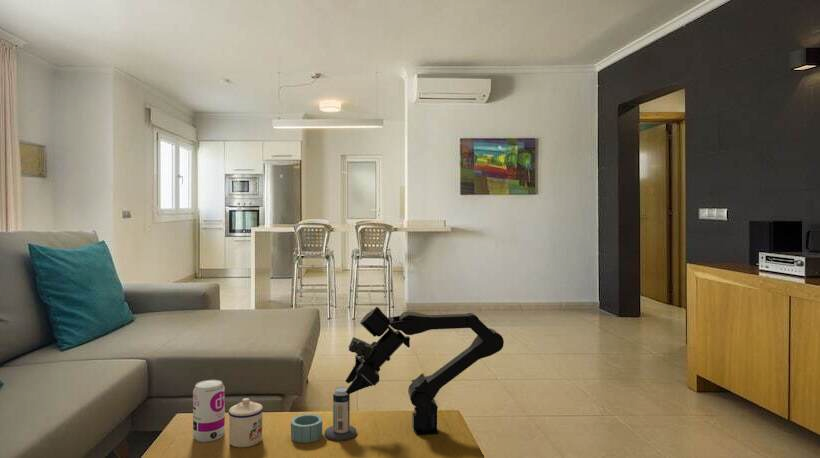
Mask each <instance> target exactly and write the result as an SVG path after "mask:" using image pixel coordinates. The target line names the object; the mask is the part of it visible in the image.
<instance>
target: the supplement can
mask: <svg viewBox="0 0 820 458" xmlns="http://www.w3.org/2000/svg"><path fill="white" fill-rule="evenodd" d="M225 389H226V388H225V385H224V383H223V381H222V380H219V379H205V380H202V381H199V382H197V383H196V384H195V386H194V388H193V390H192V408H193V409H192V426H193V427H192V430H193V431H192V437H193V439H195V440H196V441H197V442H199V443H209V442H214V441H217V440H219V439H221V438H222V437H223V435H224V434H225V431H226V427H225V424H226V422H225V421H226V417H225V416H226V415H225V414H226V413H225V411H226V410H225V408H226V407H225V406H226V405H225V401H226V398H225V396H226V395H225V391H226V390H225Z"/></svg>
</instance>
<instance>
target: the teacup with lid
mask: <svg viewBox="0 0 820 458" xmlns="http://www.w3.org/2000/svg"><path fill="white" fill-rule="evenodd" d="M263 411H264V407H263V405H262V404H261V403H259V402H254V401H251V400H250V398H248V397H246V398H243V399H242V401H241V402H238V403H237V404H235V405H233V406H231V407H230V408H229V409H228V415H229V418H228V419H229V420H228V421H229V422H228V423H229V424H228V425H229V430H228V431H229V432H228V433H229V435H228V437H229V438H228V439H229V441H228V442H229V444H230V445H231V446H232V447H235V448H249V447H252V446H255V445H258V444H259V443H260V442H261V441H262V440H263Z"/></svg>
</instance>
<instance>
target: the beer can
mask: <svg viewBox="0 0 820 458" xmlns="http://www.w3.org/2000/svg"><path fill="white" fill-rule="evenodd" d="M347 389H348V387H344V386H340V387H336V388H334V390H333V392H332V399H333V400H332V406H333V407H332V416H333V417H332V426H333V431H334V432H336V433H338V434H343V433H346V432H348V431H349V430H350V426H351V424H350V420H351V419H350V413H351V412H350V411H351V409H350V406H351V405H350V402H351V401H350V399H351V398H350V395H351V394H347V393H346V390H347Z"/></svg>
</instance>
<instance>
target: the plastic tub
mask: <svg viewBox="0 0 820 458" xmlns="http://www.w3.org/2000/svg"><path fill="white" fill-rule="evenodd" d="M322 437H323V417H322V416H321V415H318V414H313V413H307V414H306V413H305V414H300V415H296V416H294V417H293V418H291V419H290V439H291V440H292V441H293V442H295V443H299V444H308V443H315V442H317V441H319V440H320V439H321V438H322Z"/></svg>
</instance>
